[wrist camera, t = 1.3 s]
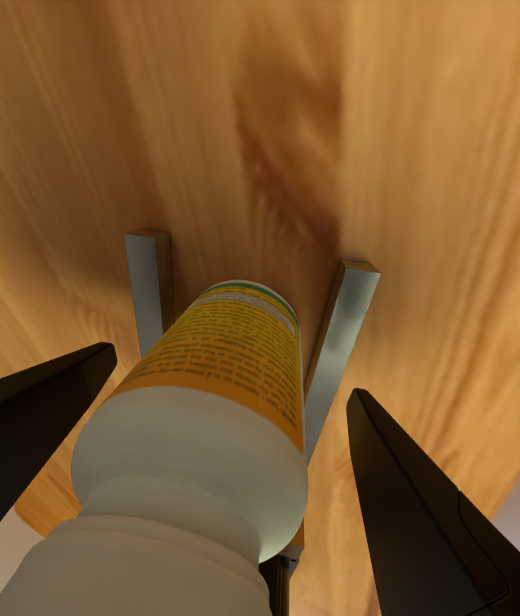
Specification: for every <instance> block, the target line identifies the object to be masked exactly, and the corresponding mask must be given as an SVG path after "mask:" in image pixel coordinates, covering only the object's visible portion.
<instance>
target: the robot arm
mask: <svg viewBox="0 0 520 616" xmlns="http://www.w3.org/2000/svg"><path fill="white" fill-rule="evenodd" d="M116 365H117V356H116V351H115V347H114V345H113V344H112V343H107V342H99V343H96V344H94V345H91V346H88V347H86V348H83V349H80V350H77V351H75V352H72V353H69V354H66V355H64V356H61V357H58V358H55V359H53V360H50V361H47V362H44V363H42V364H39V365H36V366H33V367H31V368H28V369H25V370H22V371H20V372H17V373H14V374H11V375H9V376H6V377H3V378H1V379H0V521H1V520H2V519H3V517H4V516H5V515H6V513H7V512H8V511H9V510H10V508H11V507H12V506H13V505H14V503H15V502H16V501H17V499H18V498H19V497H20V496H21V494H22V493H23V492H24V490H25V489H26V488H27V487H28V485H29V484H30V483H31V481H32V480H33V479H34V478H35V476H36V475H37V474H38V472H39V471H40V470H41V469H42V467H43V466H44V465H45V463H46V462H47V461H48V460H49V458H50V457H51V456H52V454H53V453H54V452H55V451H56V449H57V448H58V447H59V445H60V444H61V443H62V442H63V440H64V439H65V438H66V436H67V435H68V434H69V433H70V431H71V430H72V429H73V427H74V426H75V425H76V424H77V422H78V421H79V420H80V418H81V417H82V416H83V415H84V413H85V412H86V411H87V409H88V408H89V407H90V405H91V404H92V403H93V401H94V400H95V398H96V397H97V395H98V394H99V392H100V391H101V389H102V388H103V386H104V384H105V383H106V381H107V380H108V378H109V377H110V375H111V373H112V372H113V370H114V369H115V367H116ZM346 411H347V423H348V435H349V446H350V455H351V461H352V466H353V471H354V476H355V481H356V486H357V491H358V497H359V502H360V507H361V512H362V517H363V522H364V527H365V533H366V538H367V543H368V548H369V553H370V558H371V563H372V568H373V574H374V579H375V584H376V589H377V594H378V599H379V604H380V610H381V615H382V616H520V552H519V551H518V549H517V548H515V547H514V545H513V544H512V543H511V542H510V541H508V539H507V538H505V537H504V536H503V535H502V534H501V533H500V532H499V531H498V530H497V529H496V527H495V526H494V525H493V524H492V523H491V522H490V521H489V520H488V519H487V518H486V517H485V516H484V515H483V514H482V513H481V512H480V511H479V510H478V509H477V508H476V507H475V506H474V504H473V503H472V502H471V501H470V500H469V499H468V498H467V497H466V496H465V495H464V494H463V493H462V492H461V491H459V490H458V488H457V486H456V485H455V484H454V483H453V482H452V481H451V480H450V479H449V478H448V477H447V476H446V475H445V473H444V472H443V471H442V470H441V469H440V468H439V467H438V466H437V465H436V464H435V463H434V462H433V461H432V460H431V458H430V457H429V456H428V455H427V454H426V453H425V452H424V451H423V450H422V449H421V448H420V447H419V446H418V444H417V443H416V442H415V441H414V440H413V439H412V438H411V437H410V436H409V435H408V434H407V433H406V432H405V431H404V429H403V428H402V427H401V426H400V425H399V424H398V423H397V422H396V421H395V420H394V419H393V418H392V417H391V415H390V414H389V413H388V412H387V411H386V410H385V409H384V408H383V407H382V406H381V405H380V404H379V403H378V402H377V400H376V399H375V398H374V397H373V396H372V395H371V394H370V393H369V392H368V391H367V390H365V389H360V388H354V389H353V391H352V393H351V395H350V398H349V400H348V402H347V407H346ZM298 563H299V558H298V559H294V558H290V557H285V556H281V555H274V556H273V557H271V558H269V559H268V560H266V561H264V562H261V563H259V568H258V571H259V573H260V574H261V575H262V576H263V578H264V580H265V582H266V584H267V586H268V590H269V608H270V610H271V613H272V616H289V580H290V578H291V576H292V574H293V572H294V570H295V568H296V566H297V564H298Z"/></svg>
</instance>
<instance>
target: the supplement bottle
mask: <svg viewBox="0 0 520 616" xmlns="http://www.w3.org/2000/svg"><path fill="white" fill-rule="evenodd" d="M71 476H72V483H73V488H74V491H75V493H76V496H77V498H78V500H79V502H80V504H81V506H82V508H83V509H82V510H81V512H80V513H79V515H78V516H77V518H73V519H69V520H67V521H64V522H62V523H60V524H59V525H57V526H56V527H55V528H54V529H53V530H52V531H51V533H50V534H49V535H48V537H47V538H46V539H44V540H42V541H41V542H39V543H37V544H36V545H34V546H33V547H32V548H31V550H30V551H29V552H28V553H27V554H26V556H25V558H24V559H23V561H22V562H21V564H20V565H19V567H18V569H17V570H16V572H15V573H14V575H13V576H12V577H11V579H10V580H9V582H8V583H7V585H6V586H5V587H4V589H3V590H2V592H1V593H0V616H272V613H271V610H270V608H269V590H268V586H267V584H266V582H265V580H264V578H263V576H262V575H261V574H260V573H259V571H258V568H259V563H261V562H264V561H266V560H268V559H269V558H271V557H273V556H274V555H276V554H277V553H279V552H280V551H281V550H282V549H283V548H284V547H285V546H286V545H287V544H288V543H289V542H290V541H291V540H292V538H293V537H294V535H295V534H296V532H297V531H298V529H299V527H300V524H301V522H302V520H303V517H304V514H305V510H306V505H307V499H308V470H307V451H306V433H305V409H304V392H303V366H302V344H301V329H300V324H299V321H298V319H297V316H296V314H295V312H294V310H293V308H292V307H291V306H290V305H289V304H288V303H287V302H286V301H285V299H284V298H282V297H281V296H280V295H279V294H278V293H276V292H275V291H274V290H272V289H270V288H269V287H267V286H265V285H262V284H260V283H257V282H253V281H247V280H230V281H224V282H220V283H217V284H215V285H213V286H211V287H210V288H208V289H207V290H205V291H204V292H203V293H202V294H201V295H200V296H199V297H198V298H197V299H196V300H195V301H194V302H193V303H192V304H191V305H190V306H189V307H188V308H187V309H186V311H185V312H184V313H183V314H182V315H181V316H180V317H179V318H178V320H177V321H176V322H175V323H174V324H173V325H172V326H171V327H170V328H169V330H168V331H167V332H166V333H165V334H164V335H163V336H162V337H161V338H160V339H159V341H158V342H157V343H156V344H155V345H154V346H153V347H152V348H151V349H150V350H149V351H148V353H147V354H146V355H145V356H144V357H143V358H142V359H141V360H140V362H139V363H138V364H137V365H136V366H135V367H134V368H133V369H132V371H131V372H130V373H129V374H128V375H127V376H126V377H125V378H124V380H123V381H122V382H121V383H120V384H119V385H118V387H117V388H116V389H115V390H114V391H113V392H112V393H111V394H110V395H109V396H108V397H107V399H106V400H105V401H104V402H103V403H102V404H101V405H100V406H99V407H98V409H97V410H96V411H95V412H94V414H93V415H92V416H91V418H90V419H89V420H88V422H87V423H86V424H85V426H84V428H83V429H82V431H81V433H80V435H79V437H78V439H77V442H76V444H75V447H74V451H73V456H72V463H71Z"/></svg>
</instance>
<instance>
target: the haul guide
mask: <svg viewBox="0 0 520 616" xmlns="http://www.w3.org/2000/svg"><path fill="white" fill-rule="evenodd" d="M124 240H125V247H126V254H127V261H128V268H129V275H130V282H131V289H132V296H133V303H134V310H135V317H136V324H137V331H138V337H139V344H140V351H141V358H143V357H144V356H145V355H146V354H147V353H148V351H149V350H150V349H151V348H152V347H153V346H154V345H155V344H156V343H157V342H158V341H159V339H160V338H161V337H162V336H163V335H164V334H165V333H166V332H167V331H168V330H169V328H170V327H171V326H172V325H173V324H174V323H175V318H174V300H173V282H172V263H171V245H170V233H167V232H160V231H154V230H147V229H139V230H135V231H132V232H128V233H125V234H124ZM380 275H381V273H380V272H379V271H378V270H377V269H376V268H375V267H374V266H373V265H372V264H369V263H363V262H356V261H350V260H343V259H340V263H339V266H338V270H337V273H336V277H335V280H334V284H333V287H332V291H331V294H330V297H329V301H328V304H327V308H326V311H325V315H324V318H323V322H322V325H321V329H320V332H319V336H318V339H317V343H316V346H315V350H314V353H313V357H312V360H311V364H310V367H309V371H308V374H307V378H306V381H305V384H304V388H303V392H304V409H305V433H306V451H307V467H308V465H309V462H310V459H311V457H312V454H313V451H314V449H315V446H316V444H317V441H318V438H319V436H320V433H321V430H322V428H323V425H324V423H325V420H326V417H327V415H328V412H329V409H330V407H331V404H332V402H333V399H334V396H335V394H336V391H337V388H338V386H339V383H340V381H341V378H342V375H343V373H344V370H345V367H346V365H347V362H348V360H349V357H350V354H351V352H352V349H353V346H354V344H355V341H356V339H357V336H358V333H359V331H360V328H361V325H362V323H363V320H364V318H365V315H366V312H367V310H368V307H369V304H370V302H371V299H372V296H373V294H374V291H375V289H376V286H377V283H378V281H379V278H380ZM303 549H304V518H303V520H302V522H301V524H300V527H299V529H298V531H297V532H296V534H295V535H294V537H293V538H292V540H291V541H290V542H289V543H288V544H287V545H286V546H285V547H284V548H283V549H282V550H281V551H280V552H279V553H277V554H276V555H281V556H285V557H290V558H294V559H298V558H299V556H300V554H301V553H302V551H303Z"/></svg>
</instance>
